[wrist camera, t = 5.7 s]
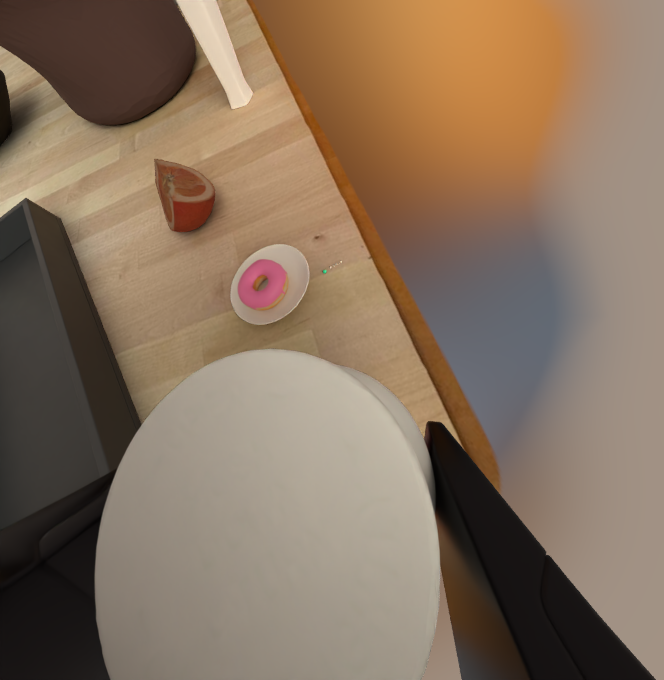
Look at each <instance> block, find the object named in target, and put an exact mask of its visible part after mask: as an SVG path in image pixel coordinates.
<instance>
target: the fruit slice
mask: <svg viewBox="0 0 664 680" xmlns="http://www.w3.org/2000/svg"><path fill="white" fill-rule="evenodd" d="M154 162H155V176H156V179H155V181H156V186H157V189H158V193H159V196H160V199H161V202H162V206H163V209H164V213H165V216H166V220H167V222H168V225H169V227H170V229H171V230H172V231H176V232H188V231H192V230H194V229H197V228H198V227H200V226H201V225H202V224H203V223H205V221H206V220H207V218H208V217H209V215H210V213H211V211H212V208H213V205H214V201H215V188H214V186H213V184H212V183H211V182H210V181H209V180H208V179H207V178H206V177H205V176H204V175H202V174H201V173H200V172H198V171H196V170H194V169H192V168H189V167H186V166H183V165H181V164H177V163H173V162H168V161H164V160H158V159H154Z"/></svg>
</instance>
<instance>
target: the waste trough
mask: <svg viewBox="0 0 664 680" xmlns="http://www.w3.org/2000/svg"><path fill="white" fill-rule="evenodd" d="M140 427H141V423H140V421H139V418H138V416H137V413H136V410H135V408H134V405H133V403H132V400H131V398H130V395H129V393H128V390H127V387H126V385H125V382H124V380H123V377H122V375H121V372H120V370H119V367H118V364H117V362H116V359H115V357H114V354H113V352H112V349H111V346H110V344H109V341H108V339H107V336H106V334H105V331H104V329H103V326H102V323H101V321H100V318H99V316H98V313H97V311H96V308H95V306H94V303H93V300H92V298H91V295H90V293H89V290H88V288H87V285H86V282H85V280H84V277H83V275H82V272H81V270H80V267H79V265H78V262H77V259H76V257H75V254H74V252H73V249H72V247H71V244H70V242H69V239H68V236H67V234H66V231H65V229H64V226H63V224H62V221H61V219H60V218H58V217H57V216H55V215H53V214H52V213H50V212H48V211H47V210H45V209H43V208H42V207H40V206H39V205H37V204H35V203H34V202H32V201H30V200H29V199H27V198H25V199H24V200H22V201H21V202H20V203H19V204H17V205H16V206H15V207H13V208H12V209H11V210H10V211H8V212H7V213H6V214H4V215H3V216H2V217H1V218H0V530H1V529H3V528H5V527H7V526H9V525H11V524H13V523H15V522H17V521H19V520H21V519H23V518H25V517H27V516H29V515H31V514H33V513H34V512H36V511H38V510H40V509H42V508H44V507H46V506H48V505H50V504H52V503H54V502H56V501H58V500H60V499H62V498H63V497H65V496H67V495H69V494H71V493H73V492H75V491H77V490H79V489H80V488H82V487H84V486H86V485H88V484H90V483H91V482H93V481H95V480H97V479H99V478H100V477H102V476H104V475H106V474H107V473H109V472H111V471H113V470H114V469H116V468H118V466H119V464H120V462H121V460H122V458H123V456H124V454H125V452H126V450H127V448H128V446H129V444H130V443H131V441H132V439H133V438H134V436H135V434H136V433H137V431H138V430H139V428H140Z"/></svg>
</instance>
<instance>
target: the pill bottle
mask: <svg viewBox="0 0 664 680" xmlns="http://www.w3.org/2000/svg"><path fill="white" fill-rule="evenodd" d="M435 507H436V492H435V480H434V473H433V468H432V463H431V459H430V455H429V452H428V449H427V446H426V444H425V441H424V438H423V436H422V434H421V432H420V430H419V428H418V426H417V424H416V422H415V421H414V419H413V417H412V416H411V414H410V413H409V411H408V410H407V409H406V407H405V406H404V405H403V404H402V402H401V401H400V400H399V399H398V398H397V397H396V396H395V395H394V394H393V393H392V392H391V391H390V390H389V389H388V388H386V387H385V386H384V385H383V384H381V383H380V382H378V381H377V380H376V379H374V378H372V377H370V376H369V375H367V374H365V373H363V372H360V371H358V370H355V369H353V368H349V367H346V366H341V365H336V364H333V363H331V362H329V361H327V360H324V359H322V358H319V357H316V356H313V355H310V354H307V353H303V352H299V351H294V350H283V349H261V350H250V351H245V352H241V353H237V354H233V355H230V356H227V357H224V358H221V359H219V360H216V361H214V362H212V363H210V364H208V365H206V366H204V367H202V368H201V369H199V370H197V371H196V372H194V373H193V374H191V375H190V376H188V377H187V378H186V379H184V380H183V381H182V382H181V383H180V384H178V385H177V386H176V387H175V388H174V389H173V390H172V391H171V392H169V393H168V394H167V395H166V396H165V397H164V398H163V399H162V400H161V401H160V402H159V403H158V405H157V406H156V407H155V408H154V409H153V411H152V412H151V413H150V414H149V416H148V417H147V418H146V419H145V421H144V422H143V424H142V425H141V427H140V428H139V430H138V431H137V433H136V434H135V436H134V438H133V439H132V441H131V443H130V444H129V446H128V448H127V450H126V452H125V454H124V456H123V458H122V460H121V462H120V464H119V466H118V469H117V471H116V474H115V477H114V479H113V482H112V485H111V487H110V491H109V494H108V497H107V500H106V503H105V507H104V510H103V514H102V519H101V523H100V529H99V535H98V542H97V547H96V562H95V603H96V621H97V626H98V631H99V638H100V642H101V646H102V654H103V658H104V662H105V665H106V668H107V671H108V674H109V677H110V680H421V679H422V677H423V675H424V673H425V670H426V667H427V663H428V659H429V655H430V651H431V647H432V643H433V638H434V634H435V630H436V622H437V615H438V609H439V595H440V594H439V593H440V550H439V540H438V531H437V525H436V519H435Z"/></svg>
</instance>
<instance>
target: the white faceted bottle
mask: <svg viewBox="0 0 664 680" xmlns="http://www.w3.org/2000/svg"><path fill="white" fill-rule="evenodd" d="M176 2H177V4H178V6H179V7H180V9H181V11H182V13H183V15H184V17H185V18H186V20H187V22H188V24H189V26H190V28H191V29H192V31H193V33H194V35H195V37H196V39H197V40H198V42H199V44H200V46H201V48H202V50H203V51H204V53H205V55H206V57H207V59H208V61H209V62H210V64H211V66H212V68H213V70H214V71H215V73H216V75H217V77H218V79H219V81H220V82H221V84H222V86H223V88H224V90H225V92H226V94H227V97H228V100H229V103H230V106H231V109H236V108H239V107H242V106H245V105H247V104H248V103H249V101H250V99H251V97H252V95H253V92H252V90H251V89H250V87H249V86H248V84H247V83H246V81H245V79H244V76H243V74H242V71H241V68H240V65H239V62H238V60H237V57H236V54H235V51H234V48H233V46H232V43H231V40H230V37H229V35H228V32H227V29H226V26H225V23H224V21H223V18H222V15H221V12H220V9H219V7H218V4H217V1H216V0H176Z"/></svg>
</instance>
